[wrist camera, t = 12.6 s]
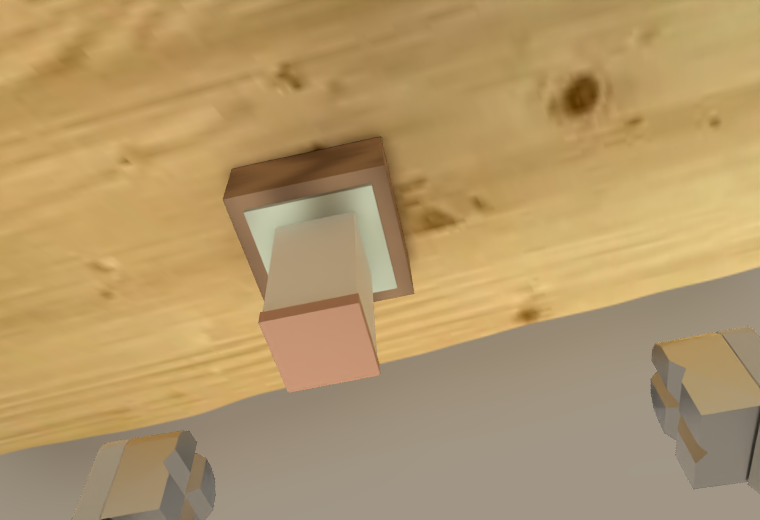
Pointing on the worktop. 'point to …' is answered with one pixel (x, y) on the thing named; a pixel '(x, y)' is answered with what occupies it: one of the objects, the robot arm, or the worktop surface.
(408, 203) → the worktop surface
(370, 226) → the base
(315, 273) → the two-tone lidded box
